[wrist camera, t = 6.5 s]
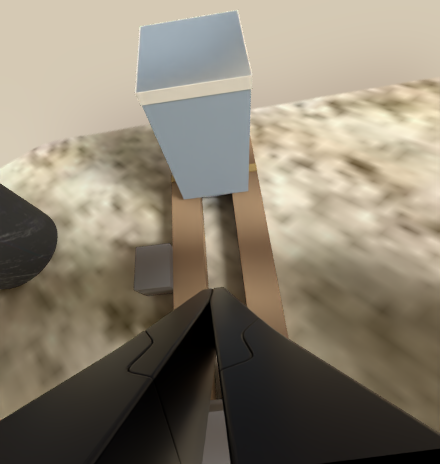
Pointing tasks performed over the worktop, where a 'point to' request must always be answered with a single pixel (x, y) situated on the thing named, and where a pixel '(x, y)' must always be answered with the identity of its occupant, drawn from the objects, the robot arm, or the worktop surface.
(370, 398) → the robot arm
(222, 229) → the worktop surface
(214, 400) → the beam
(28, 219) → the travel mug
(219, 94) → the block
